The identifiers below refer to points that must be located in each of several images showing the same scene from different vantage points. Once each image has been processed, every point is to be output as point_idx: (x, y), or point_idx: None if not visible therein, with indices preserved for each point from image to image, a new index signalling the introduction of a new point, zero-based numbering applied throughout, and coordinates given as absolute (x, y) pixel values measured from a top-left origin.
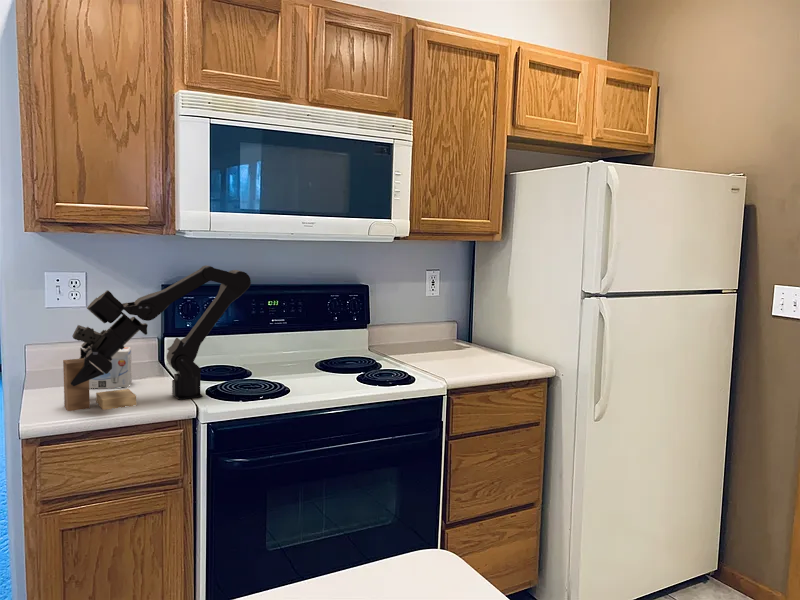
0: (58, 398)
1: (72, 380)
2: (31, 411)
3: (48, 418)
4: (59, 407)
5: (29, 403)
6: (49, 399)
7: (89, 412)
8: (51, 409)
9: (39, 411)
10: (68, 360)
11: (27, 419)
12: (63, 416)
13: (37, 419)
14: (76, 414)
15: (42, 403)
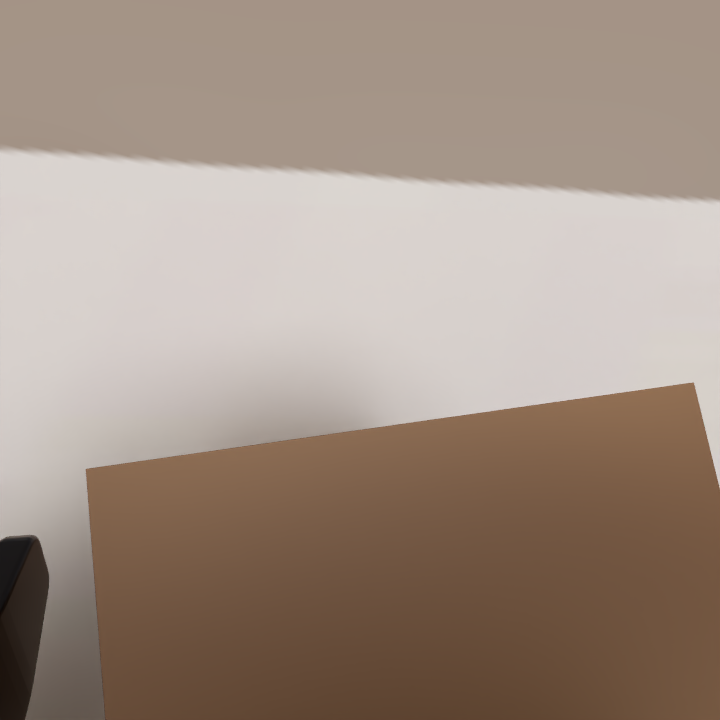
0: None
1: (1, 576)
2: (314, 198)
3: (6, 316)
4: (364, 411)
5: (573, 195)
6: (656, 337)
7: (53, 690)
8: (319, 346)
9: (289, 255)
10: (604, 524)
11: (58, 160)
12: (14, 442)
13: (17, 231)
14: None
15: (544, 284)
